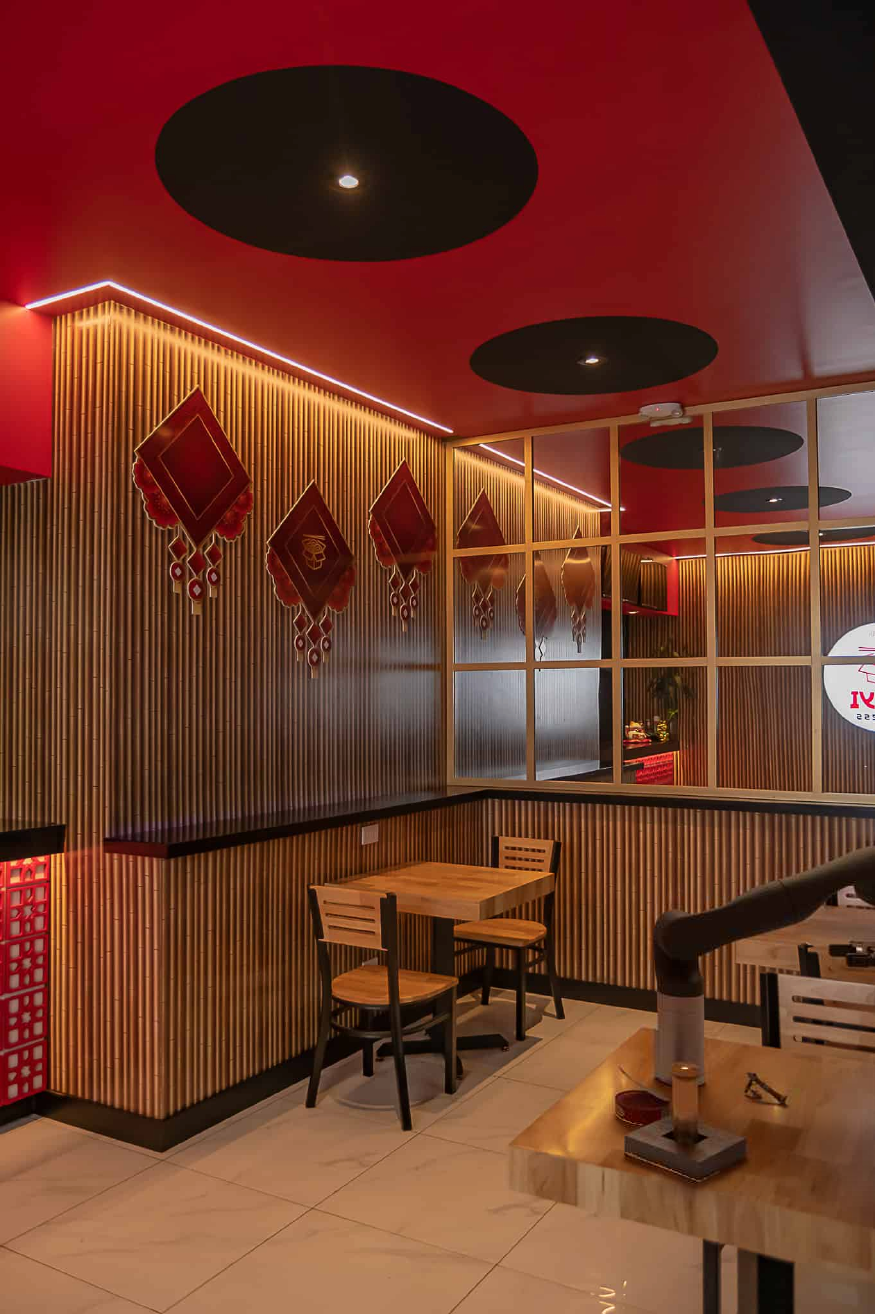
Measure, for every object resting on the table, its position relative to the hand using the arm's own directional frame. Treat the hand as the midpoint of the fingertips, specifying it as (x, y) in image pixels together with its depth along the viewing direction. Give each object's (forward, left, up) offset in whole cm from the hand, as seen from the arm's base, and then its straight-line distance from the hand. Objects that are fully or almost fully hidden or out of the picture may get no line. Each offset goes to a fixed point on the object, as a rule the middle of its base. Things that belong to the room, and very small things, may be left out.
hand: (837, 955), depth 171 cm
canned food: (-28, -21, -30) cm, 46 cm away
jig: (-13, -30, -30) cm, 44 cm away
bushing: (-13, -30, -30) cm, 44 cm away
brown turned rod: (-17, +4, -30) cm, 35 cm away
